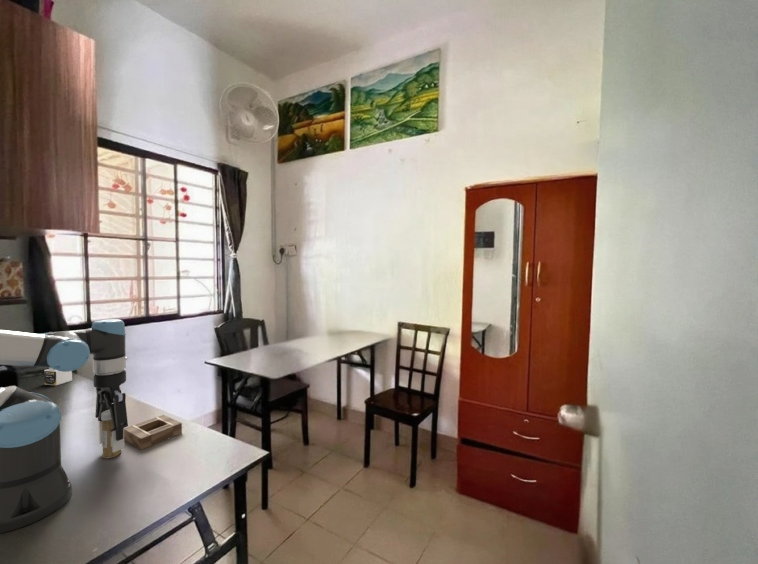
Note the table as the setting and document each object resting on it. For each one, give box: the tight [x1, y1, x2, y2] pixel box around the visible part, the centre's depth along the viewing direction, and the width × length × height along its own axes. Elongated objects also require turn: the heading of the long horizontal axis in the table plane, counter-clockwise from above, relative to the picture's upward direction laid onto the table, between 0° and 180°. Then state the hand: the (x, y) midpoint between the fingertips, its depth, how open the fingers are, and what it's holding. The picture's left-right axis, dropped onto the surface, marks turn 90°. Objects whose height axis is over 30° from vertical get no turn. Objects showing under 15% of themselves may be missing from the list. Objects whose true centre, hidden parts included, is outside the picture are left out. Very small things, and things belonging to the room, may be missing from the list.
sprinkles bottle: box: [101, 409, 122, 459], centre depth 97 cm, size 5×5×13 cm
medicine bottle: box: [43, 368, 73, 386], centre depth 159 cm, size 7×7×12 cm
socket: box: [124, 414, 183, 451], centre depth 108 cm, size 12×12×4 cm
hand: (111, 445), depth 97 cm, fingers open, 8 cm apart
